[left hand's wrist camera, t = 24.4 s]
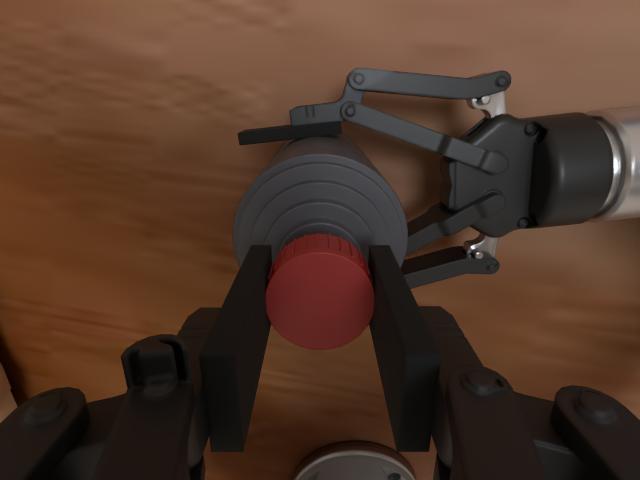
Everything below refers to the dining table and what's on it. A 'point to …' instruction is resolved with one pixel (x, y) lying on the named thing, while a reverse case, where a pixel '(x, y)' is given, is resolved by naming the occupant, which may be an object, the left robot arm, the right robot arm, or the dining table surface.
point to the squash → (5, 396)
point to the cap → (320, 292)
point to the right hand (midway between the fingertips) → (254, 203)
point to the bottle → (320, 200)
